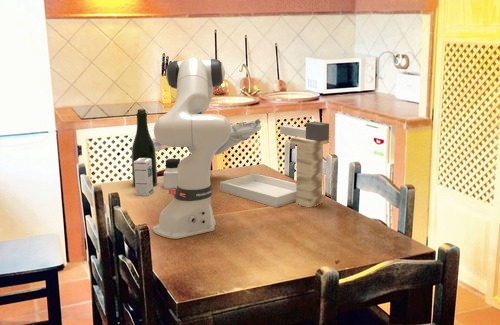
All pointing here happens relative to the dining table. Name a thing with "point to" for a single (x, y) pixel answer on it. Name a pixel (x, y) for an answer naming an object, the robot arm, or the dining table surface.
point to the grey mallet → (308, 131)
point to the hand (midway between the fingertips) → (251, 122)
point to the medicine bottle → (171, 173)
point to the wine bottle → (143, 144)
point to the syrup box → (143, 176)
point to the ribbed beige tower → (309, 171)
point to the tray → (261, 189)
